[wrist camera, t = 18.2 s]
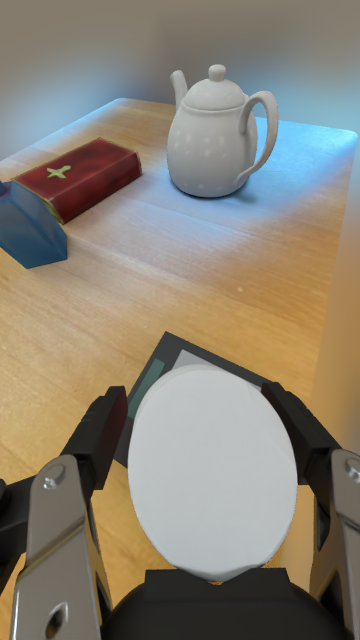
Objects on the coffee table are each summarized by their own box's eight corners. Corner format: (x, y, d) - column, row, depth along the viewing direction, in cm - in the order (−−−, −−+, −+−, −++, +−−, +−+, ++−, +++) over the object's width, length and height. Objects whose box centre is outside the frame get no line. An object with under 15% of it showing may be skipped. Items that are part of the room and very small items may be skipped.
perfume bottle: (29, 242, 29) (-65, 148, 18) (65, 234, 30) (-3, 138, 19) (26, 268, 26) (-84, 177, 15) (66, 259, 27) (-12, 165, 16)
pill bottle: (142, 422, 14) (50, 472, 5) (185, 365, 16) (189, 314, 6) (200, 482, 13) (261, 784, 3) (241, 411, 15) (363, 435, 5)
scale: (262, 383, 18) (276, 381, 16) (224, 521, 14) (234, 550, 11) (167, 337, 21) (165, 328, 18) (108, 441, 16) (94, 449, 14)
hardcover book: (142, 175, 37) (138, 150, 34) (63, 225, 31) (46, 200, 27) (107, 160, 41) (99, 135, 37) (28, 202, 34) (9, 177, 30)
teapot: (156, 200, 33) (140, 83, 21) (174, 155, 41) (170, 51, 29) (252, 208, 32) (296, 87, 19) (252, 160, 39) (284, 51, 27)
